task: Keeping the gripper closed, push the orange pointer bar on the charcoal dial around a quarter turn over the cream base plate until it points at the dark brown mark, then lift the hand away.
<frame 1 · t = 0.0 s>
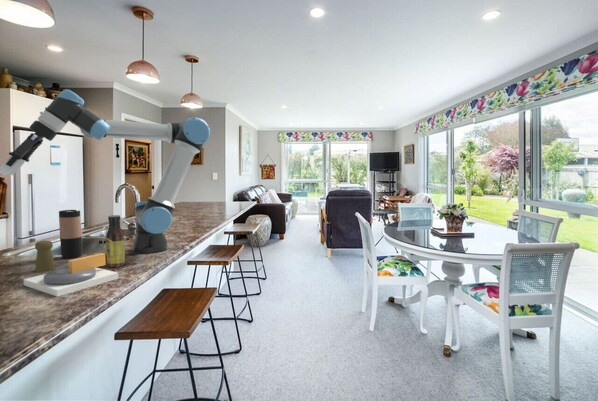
hand: (5, 173, 114), 36 cm above the countertop, tool tilted 35°, fingers open, 13 cm apart
olive pepper mill: (45, 270, 122), on the countertop
travel mug: (72, 257, 141), on the countertop
dial base: (71, 284, 107), on the countertop
sauce bottle: (116, 266, 128), on the countertop
dial: (76, 267, 109), point 5 cm above the countertop, hinge at 0.0°
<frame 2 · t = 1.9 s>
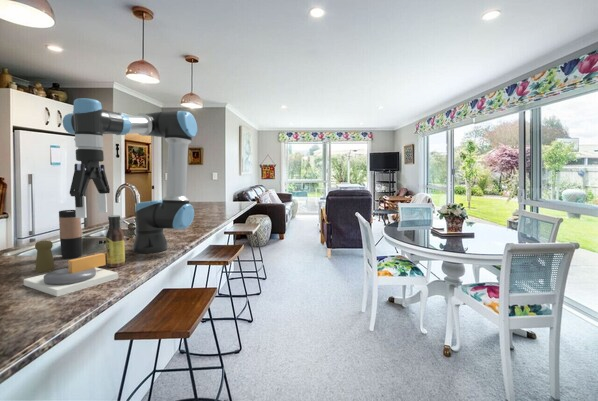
hand: (92, 215, 106), 23 cm above the countertop, tool pointing down, fingers open, 13 cm apart
nothing on the countertop moved.
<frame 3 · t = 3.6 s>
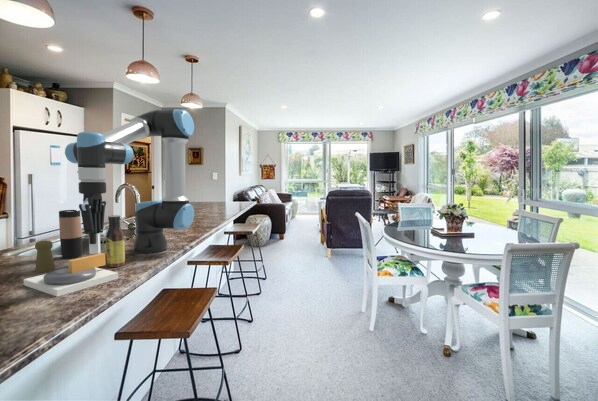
hand: (95, 253, 107), 10 cm above the countertop, tool pointing down, fingers closed
nothing on the countertop moved.
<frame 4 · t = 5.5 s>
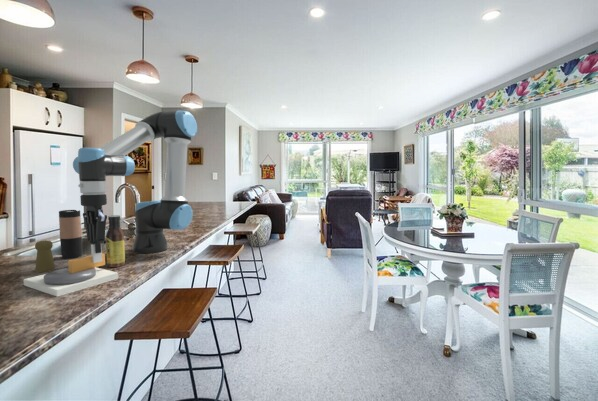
hand: (97, 261, 113), 6 cm above the countertop, tool pointing down, fingers closed
dial: (76, 267, 109), point 5 cm above the countertop, hinge at 1.4°, touching gripper
everything else where it was.
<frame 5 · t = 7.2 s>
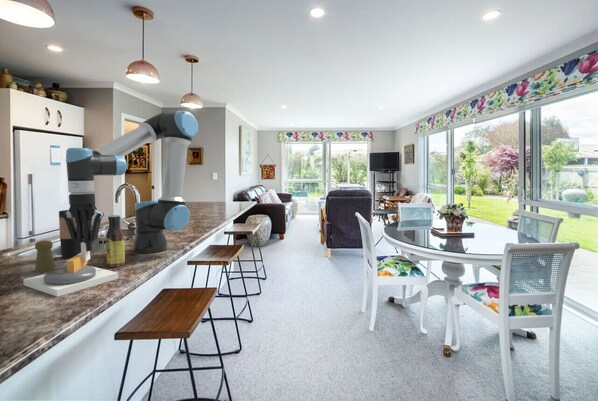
hand: (86, 260, 115), 6 cm above the countertop, tool pointing down, fingers closed
dial: (73, 267, 109), point 5 cm above the countertop, hinge at 41.2°, touching gripper
everything else where it was.
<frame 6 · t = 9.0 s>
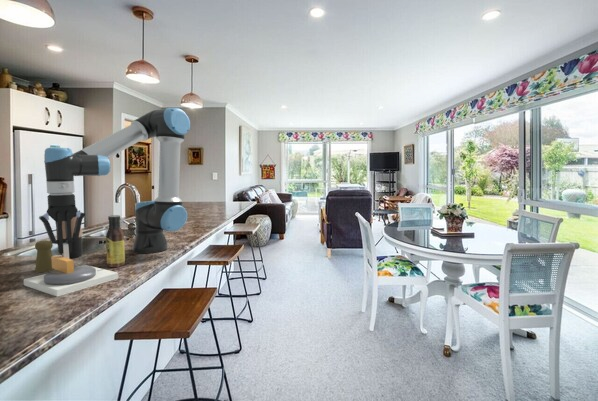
hand: (66, 262, 112), 6 cm above the countertop, tool pointing down, fingers closed
dial: (67, 268, 108), point 5 cm above the countertop, hinge at 85.8°, touching gripper
everything else where it was.
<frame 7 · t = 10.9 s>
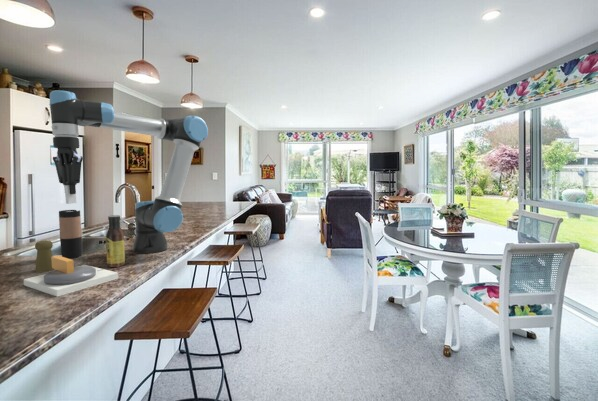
hand: (71, 203, 118), 25 cm above the countertop, tool pointing down, fingers closed
dial: (67, 268, 108), point 5 cm above the countertop, hinge at 85.8°
everything else where it was.
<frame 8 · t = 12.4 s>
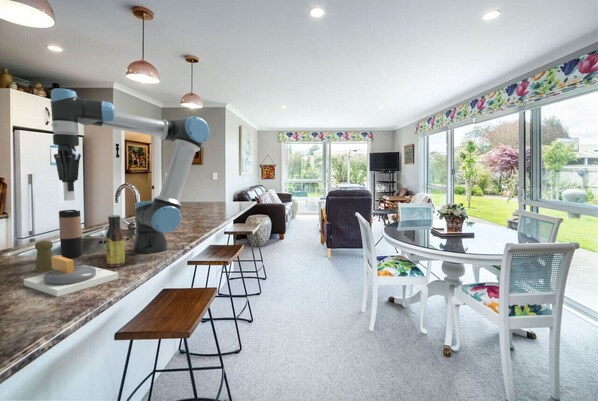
hand: (69, 200, 119), 26 cm above the countertop, tool pointing down, fingers closed
nothing on the countertop moved.
at the end: dial at +86° (first picture: +0°); olive pepper mill moved 0.2 cm from its start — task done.
